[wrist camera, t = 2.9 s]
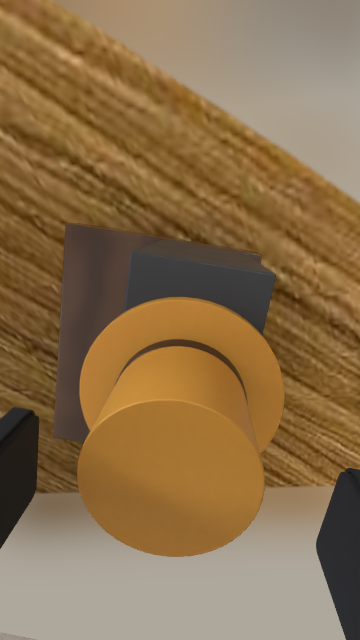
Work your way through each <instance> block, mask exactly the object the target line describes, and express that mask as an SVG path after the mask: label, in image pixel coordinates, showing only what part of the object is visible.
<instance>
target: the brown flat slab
mask: <svg viewBox="0 0 360 640" xmlns="http://www.w3.org/2000/svg"><path fill="white" fill-rule="evenodd" d="M163 239H167V240H173V241H179V242H185V243H191V244H197V245H204V246H210V247H216V248H222V249H228V250H234V251H241V252H243V253H245V254H246V255H248V256H249V257H250V258H252V259H253V260H255V261H256V262H258V263H259V264H260V263H261V259H262V255H261V254H259V253H257V252H253V251H247V250H241V249H235V248H229V247H222V246H216V245H210V244H204V243H198V242H192V241H185V240H179V239H173V238H167V237H161V236H155V235H148V234H142V233H136V232H130V231H124V230H118V229H111V228H105V227H99V226H93V225H87V224H81V223H66V228H65V245H64V262H63V280H62V297H61V314H60V332H59V349H58V366H57V384H56V401H55V418H54V436H53V437H54V438H59V439H64V440H70V441H76V442H82V443H84V442H85V440H86V438H87V436H88V434H89V433H90V430H89V428H88V425H87V423H86V421H85V418H84V415H83V411H82V408H81V401H80V377H81V370H82V367H83V364H84V361H85V358H86V356H87V354H88V352H89V349H90V347H91V346H92V344H93V343H94V341H95V340H96V338H97V337H98V336H99V335H100V334H101V333H102V331H103V330H104V329H105V328H106V327H107V326H108V325H109V324H110V323H111V322H112V321H114V320H115V319H116V318H117V317H118V316H120V315H121V314H123V313H124V305H125V296H126V287H127V278H128V270H129V265H130V256H131V251H133V250H136V249H138V248H141V247H144V246H147V245H149V244H152V243H155V242H157V241H160V240H163Z"/></svg>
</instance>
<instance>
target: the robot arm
mask: <svg viewBox="0 0 360 640" xmlns="http://www.w3.org/2000/svg"><path fill="white" fill-rule="evenodd" d="M38 436H39V417H38V416H35V413H34V411H33V410H28V409H23V408H17V407H14V408H12V409H11V410H10V411H9V412H8V413H7V414H6V415H5V416H3V417H2V418H1V419H0V548H1V547H2V545H3V544H4V542H5V541H6V539H7V538H8V536H9V534H10V533H11V531H12V530H13V528H14V527H15V525H16V524H17V522H18V520H19V519H20V517H21V516H22V514H23V513H24V511H25V509H26V508H27V506H28V505H29V503H30V502H31V500H32V498H33V496H34V494H35V490H36V482H37V459H38ZM316 549H317V554H318V557H319V560H320V563H321V566H322V569H323V572H324V575H325V578H326V581H327V584H328V587H329V590H330V593H331V596H332V599H333V602H334V604H335V608H336V611H337V614H338V616H339V620H340V623H341V626H342V629H343V632H344V635H345V638H346V640H360V470H358V469H353V468H348V469H347V470H346V471H345V472H341V473H340V474H339V477H338V480H337V482H336V485H335V488H334V491H333V494H332V497H331V500H330V503H329V506H328V509H327V512H326V514H325V518H324V520H323V523H322V526H321V529H320V532H319V535H318V538H317V542H316ZM0 640H35V639H30V638H25V637H19V636H15V635H9V634H4V633H0Z"/></svg>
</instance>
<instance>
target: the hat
mask: <svg viewBox="0 0 360 640" xmlns="http://www.w3.org/2000/svg"><path fill="white" fill-rule="evenodd" d="M80 401H81V408H82V411H83V415H84V418H85V421H86V423H87V425H88V428H89V430H90V433H89V434H88V436H87V438H86V440H85V442H84V444H83V446H82V448H81V451H80V454H79V458H78V464H77V480H78V487H79V491H80V494H81V497H82V500H83V502H84V504H85V506H86V508H87V510H88V511H89V513H90V514H91V516H92V517H93V518H94V520H95V521H96V522H97V523H98V524H99V525H100V526H101V527H102V528H103V529H104V530H105V531H106V532H107V533H109V534H110V535H111V536H113V537H114V538H115V539H117V540H119V541H121V542H122V543H124V544H126V545H128V546H130V547H132V548H134V549H137V550H140V551H143V552H146V553H150V554H154V555H161V556H170V557H183V556H193V555H198V554H203V553H207V552H210V551H213V550H215V549H218V548H220V547H222V546H224V545H226V544H228V543H229V542H231V541H233V540H234V539H235V538H236V537H238V536H239V535H240V534H241V533H242V532H243V531H244V530H246V529H247V527H248V526H249V525H250V524H251V522H252V521H253V520H254V518H255V516H256V514H257V512H258V511H259V508H260V506H261V503H262V500H263V495H264V490H265V475H264V468H263V464H262V460H261V456H260V454H261V453H262V452H263V451H264V450H265V448H266V447H267V446H268V444H269V443H270V441H271V440H272V438H273V436H274V434H275V433H276V431H277V429H278V426H279V423H280V420H281V417H282V412H283V407H284V383H283V378H282V374H281V370H280V367H279V364H278V362H277V360H276V357H275V355H274V353H273V351H272V350H271V348H270V346H269V345H268V343H267V341H266V340H265V339H264V337H263V336H262V335H261V334H260V333H259V331H258V330H257V329H256V328H255V327H254V326H253V325H252V324H250V323H249V322H248V321H247V320H246V319H244V318H243V317H242V316H240V315H239V314H237V313H236V312H234V311H232V310H230V309H228V308H226V307H224V306H222V305H219V304H216V303H214V302H211V301H207V300H202V299H198V298H189V297H168V298H162V299H156V300H152V301H149V302H146V303H142V304H140V305H138V306H136V307H133V308H131V309H129V310H128V311H126V312H124V313H123V314H121V315H120V316H118V317H117V318H116V319H115V320H114V321H112V322H111V323H110V324H109V325H108V326H107V327H106V328H105V329H104V330H103V331H102V333H101V334H100V335H99V336H98V337H97V338H96V340H95V341H94V343H93V344H92V346H91V347H90V349H89V352H88V354H87V356H86V358H85V361H84V364H83V367H82V370H81V377H80Z"/></svg>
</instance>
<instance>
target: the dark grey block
mask: <svg viewBox="0 0 360 640" xmlns="http://www.w3.org/2000/svg"><path fill="white" fill-rule="evenodd" d="M275 278H276V274H274V273H273V272H271V271H270V270H268V269H267V268H265V267H264V266H262V265H261V264H259V263H258V262H256V261H255V260H253V259H252V258H250V257H249V256H248V255H246V254H245V253H243V252H241V251H234V250H228V249H222V248H216V247H210V246H204V245H197V244H191V243H185V242H179V241H173V240H167V239H163V240H160V241H157V242H155V243H152V244H149V245H147V246H144V247H141V248H138V249H136V250H133V251H131V256H130V265H129V270H128V278H127V287H126V296H125V305H124V312H126V311H128V310H129V309H131V308H133V307H136V306H138V305H140V304H142V303H146V302H149V301H152V300H156V299H162V298H168V297H189V298H198V299H202V300H207V301H211V302H214V303H216V304H219V305H222V306H224V307H226V308H228V309H230V310H232V311H234V312H236V313H237V314H239V315H240V316H242V317H243V318H244V319H246V320H247V321H248V322H249V323H250V324H252V325H253V326H254V327H255V328H256V329H257V330H258V331H259V333H260V334H261V335H262V333H263V329H264V325H265V320H266V316H267V312H268V308H269V303H270V299H271V295H272V291H273V286H274V282H275Z"/></svg>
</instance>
